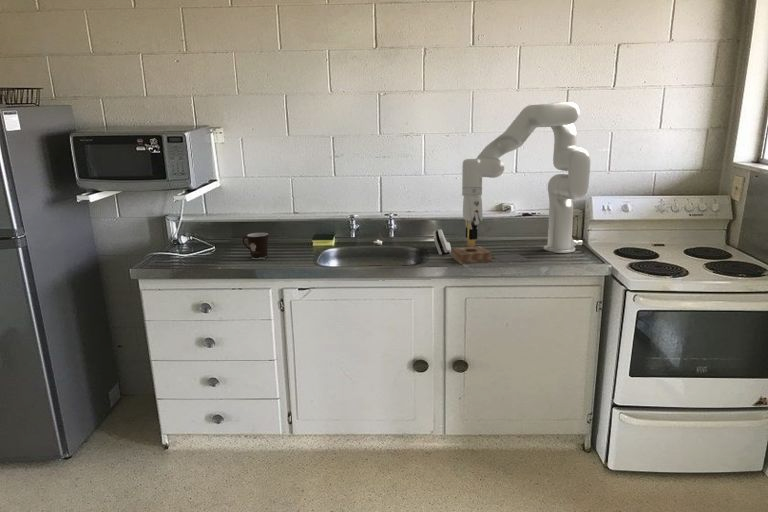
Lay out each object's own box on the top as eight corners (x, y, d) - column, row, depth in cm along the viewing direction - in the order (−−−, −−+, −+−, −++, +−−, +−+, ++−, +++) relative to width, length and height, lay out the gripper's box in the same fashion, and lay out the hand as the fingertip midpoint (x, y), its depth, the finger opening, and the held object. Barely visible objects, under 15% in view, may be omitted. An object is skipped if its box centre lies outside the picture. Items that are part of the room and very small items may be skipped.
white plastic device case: (451, 254, 234) (443, 232, 232) (440, 258, 235) (432, 236, 233) (450, 246, 250) (443, 225, 248) (440, 249, 251) (432, 228, 249)
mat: (517, 255, 230) (517, 253, 230) (529, 261, 220) (529, 259, 219) (491, 257, 228) (491, 255, 228) (502, 263, 218) (502, 262, 217)
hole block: (480, 255, 231) (480, 246, 230) (491, 262, 219) (491, 252, 218) (452, 257, 228) (452, 248, 227) (461, 264, 217) (461, 254, 216)
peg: (473, 244, 224) (473, 219, 222) (476, 246, 221) (476, 221, 219) (466, 245, 224) (466, 220, 221) (468, 246, 221) (469, 221, 218)
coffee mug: (273, 258, 236) (271, 234, 234) (254, 261, 231) (252, 237, 228) (260, 253, 245) (259, 231, 242) (242, 256, 239) (240, 233, 237)
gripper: (489, 193, 211) (488, 241, 215) (473, 188, 226) (473, 234, 230) (470, 194, 209) (469, 243, 213) (455, 189, 225) (455, 235, 229)
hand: (471, 238), depth 222 cm, fingers closed on peg, 3 cm apart
